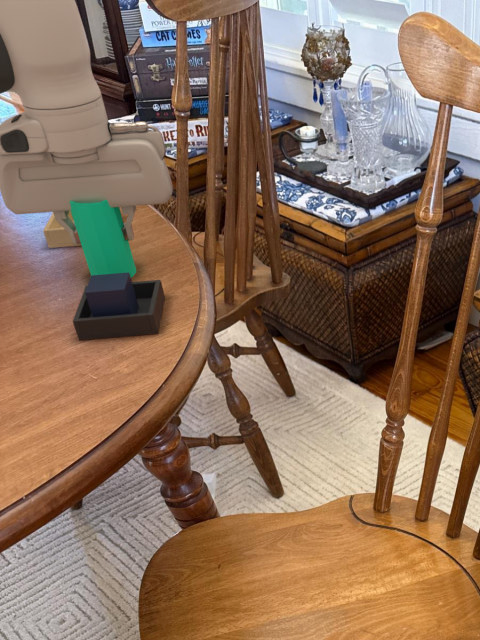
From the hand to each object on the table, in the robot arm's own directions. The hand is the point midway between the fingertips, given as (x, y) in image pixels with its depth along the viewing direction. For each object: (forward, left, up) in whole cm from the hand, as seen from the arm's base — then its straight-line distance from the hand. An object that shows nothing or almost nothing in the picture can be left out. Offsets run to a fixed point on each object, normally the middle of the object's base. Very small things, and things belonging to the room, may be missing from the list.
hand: (104, 240), depth 102 cm
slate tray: (+3, -13, -4) cm, 14 cm away
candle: (0, 0, -5) cm, 5 cm away
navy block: (+3, -13, -4) cm, 14 cm away
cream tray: (-6, +15, -4) cm, 17 cm away
